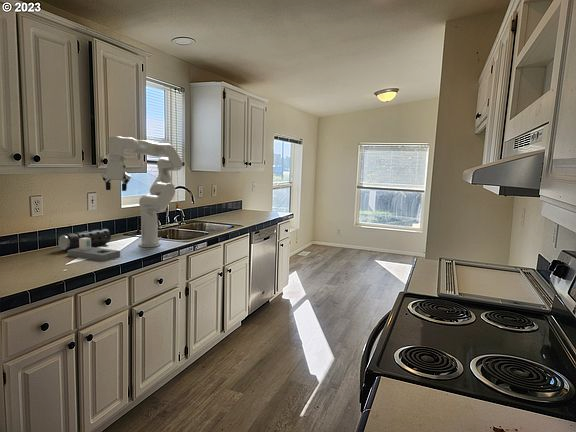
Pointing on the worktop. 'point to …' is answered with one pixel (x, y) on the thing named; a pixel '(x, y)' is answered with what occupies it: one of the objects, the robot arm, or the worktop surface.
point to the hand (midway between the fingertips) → (116, 190)
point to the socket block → (94, 253)
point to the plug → (85, 244)
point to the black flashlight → (96, 236)
